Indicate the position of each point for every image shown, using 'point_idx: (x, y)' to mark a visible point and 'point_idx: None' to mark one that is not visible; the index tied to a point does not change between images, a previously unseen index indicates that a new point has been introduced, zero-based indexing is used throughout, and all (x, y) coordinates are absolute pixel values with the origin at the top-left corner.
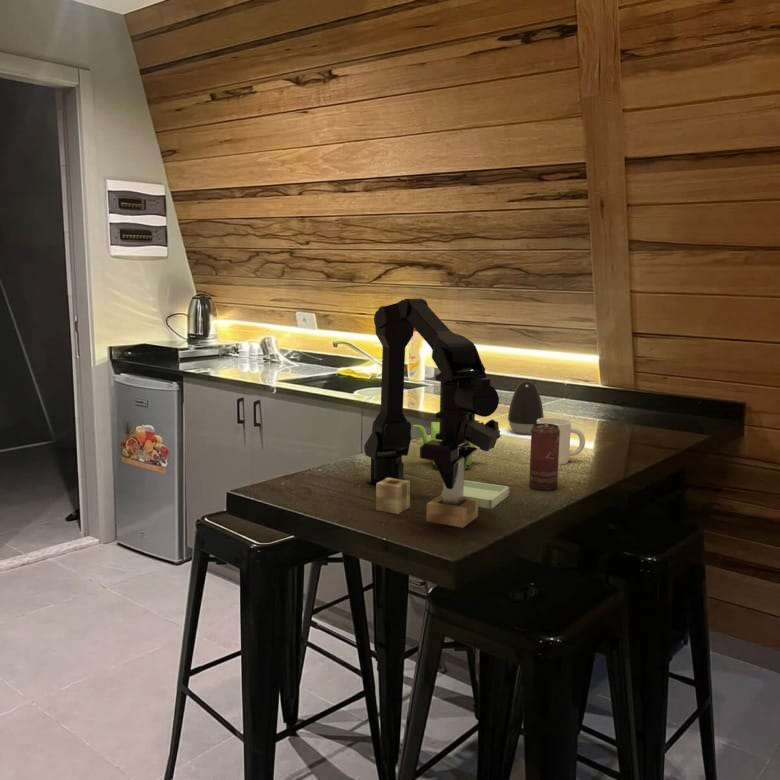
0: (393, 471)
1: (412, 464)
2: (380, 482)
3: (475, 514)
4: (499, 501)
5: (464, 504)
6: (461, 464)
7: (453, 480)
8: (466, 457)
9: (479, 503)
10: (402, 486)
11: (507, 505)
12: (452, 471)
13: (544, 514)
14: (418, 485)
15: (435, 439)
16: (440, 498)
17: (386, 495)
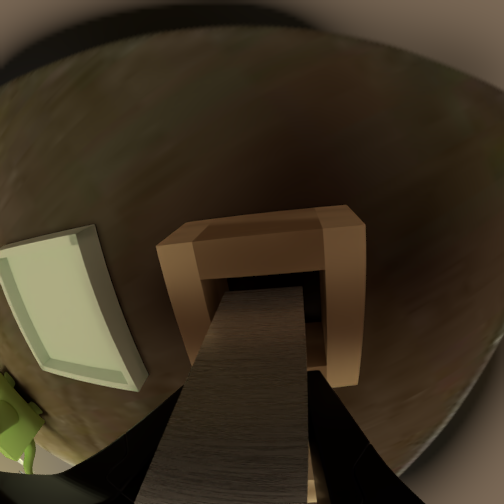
0: None
1: (64, 439)
2: (308, 501)
3: (206, 223)
4: (43, 235)
5: (277, 263)
6: (211, 492)
7: (324, 405)
8: (90, 495)
9: (99, 271)
10: None
11: (46, 203)
12: (383, 465)
13: (51, 71)
14: (115, 428)
15: (21, 449)
16: None
17: None
